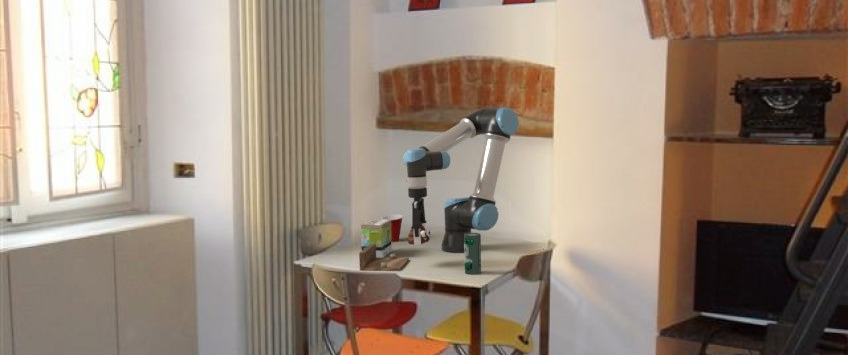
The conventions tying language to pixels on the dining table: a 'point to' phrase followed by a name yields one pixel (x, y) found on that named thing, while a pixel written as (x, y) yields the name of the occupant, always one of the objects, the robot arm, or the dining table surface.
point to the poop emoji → (424, 235)
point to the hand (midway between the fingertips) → (419, 241)
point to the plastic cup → (394, 226)
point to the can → (472, 253)
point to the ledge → (379, 261)
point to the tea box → (377, 236)
